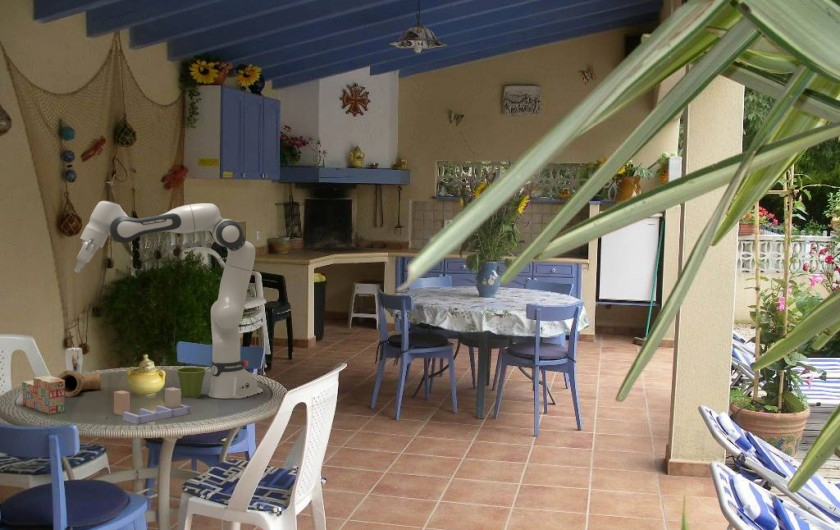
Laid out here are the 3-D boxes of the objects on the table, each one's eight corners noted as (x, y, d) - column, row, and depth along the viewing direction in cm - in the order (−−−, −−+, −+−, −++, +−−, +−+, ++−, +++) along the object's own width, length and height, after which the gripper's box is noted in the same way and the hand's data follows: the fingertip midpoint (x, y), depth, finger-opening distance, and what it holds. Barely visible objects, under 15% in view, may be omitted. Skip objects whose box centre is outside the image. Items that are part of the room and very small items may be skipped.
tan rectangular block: (122, 414, 331) (122, 390, 331) (130, 416, 328) (129, 392, 327) (114, 415, 329) (113, 391, 328) (121, 418, 325) (121, 393, 325)
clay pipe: (53, 401, 365) (57, 397, 353) (51, 375, 367) (54, 370, 355) (101, 396, 374) (107, 391, 362) (99, 370, 376) (104, 365, 363)
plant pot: (196, 401, 353) (195, 373, 352) (170, 399, 357) (170, 371, 356) (212, 395, 364) (212, 368, 363) (187, 393, 368) (187, 365, 367)
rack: (175, 411, 337) (175, 402, 336) (190, 415, 330) (190, 406, 330) (122, 421, 320) (122, 412, 320) (137, 426, 314) (137, 417, 313)
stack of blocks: (22, 405, 343) (21, 373, 342) (38, 402, 348) (37, 371, 347) (49, 415, 329) (48, 382, 328) (65, 412, 334) (65, 379, 333)
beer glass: (69, 381, 387) (69, 347, 386) (85, 381, 387) (85, 347, 385) (62, 385, 380) (62, 350, 379) (79, 385, 380) (78, 350, 378)
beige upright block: (173, 411, 333) (173, 387, 332) (181, 413, 330) (180, 389, 329) (165, 412, 330) (164, 388, 330) (172, 415, 327) (172, 390, 326)
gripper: (99, 242, 334) (83, 276, 332) (102, 243, 353) (86, 275, 352) (83, 235, 332) (66, 269, 330) (86, 236, 351) (71, 268, 350)
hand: (77, 272), depth 341 cm, fingers open, 8 cm apart
